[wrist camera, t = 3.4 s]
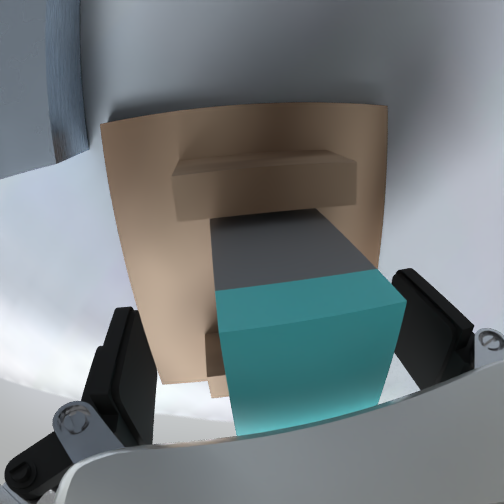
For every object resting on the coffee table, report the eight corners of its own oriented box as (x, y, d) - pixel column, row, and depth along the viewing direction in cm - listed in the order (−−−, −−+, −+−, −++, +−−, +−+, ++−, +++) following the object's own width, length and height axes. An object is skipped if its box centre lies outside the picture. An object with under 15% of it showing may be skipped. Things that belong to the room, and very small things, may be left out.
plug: (303, 196, 14) (406, 300, 6) (302, 313, 16) (362, 444, 9) (208, 206, 13) (218, 333, 6) (223, 323, 16) (243, 470, 9)
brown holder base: (376, 105, 13) (428, 109, 10) (356, 344, 19) (382, 388, 16) (106, 122, 12) (71, 129, 8) (163, 372, 18) (160, 425, 14)
